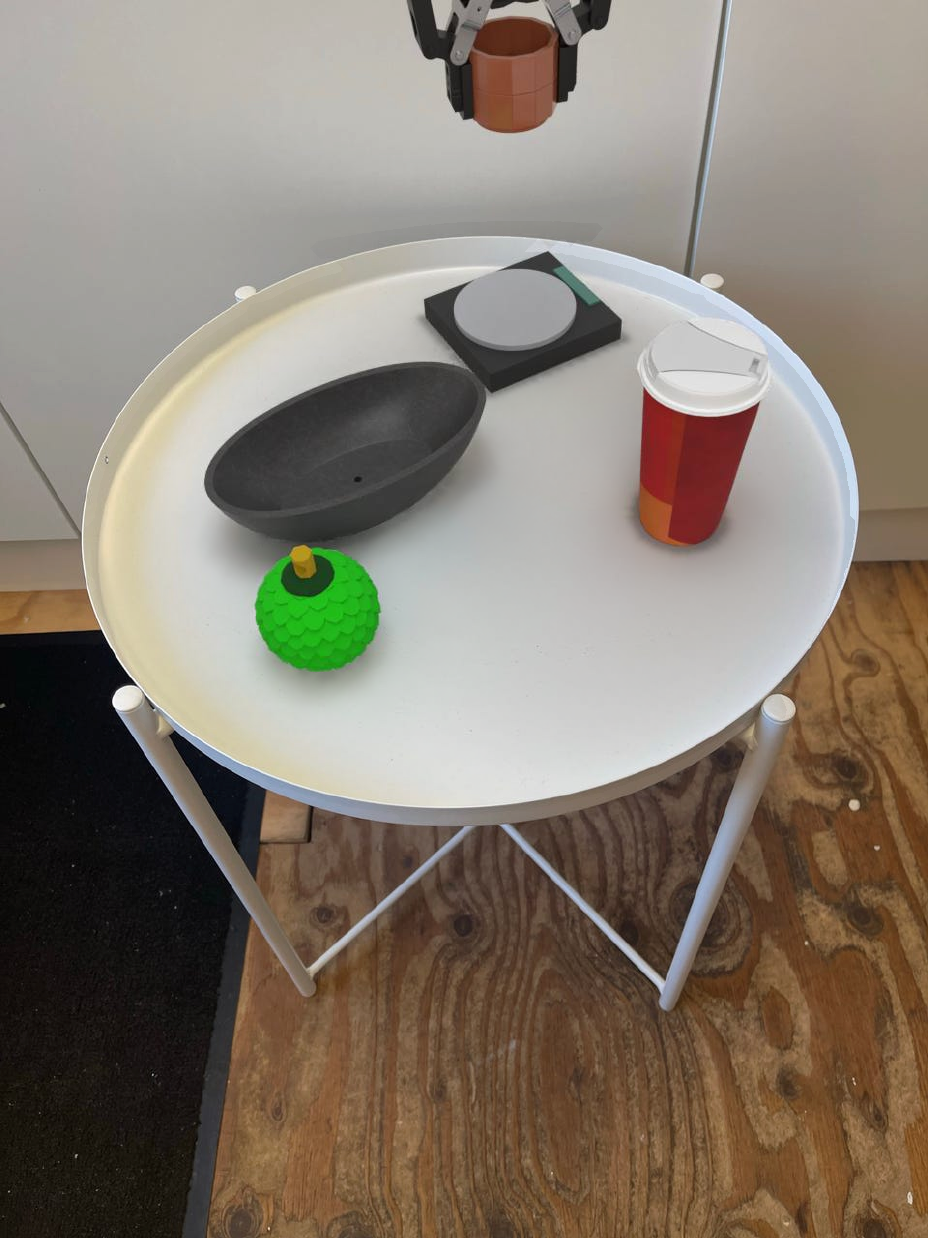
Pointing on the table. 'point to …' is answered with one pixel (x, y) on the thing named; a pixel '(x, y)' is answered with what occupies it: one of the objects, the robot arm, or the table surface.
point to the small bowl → (514, 73)
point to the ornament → (317, 609)
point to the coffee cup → (696, 423)
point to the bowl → (347, 451)
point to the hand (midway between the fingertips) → (512, 104)
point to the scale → (521, 320)
